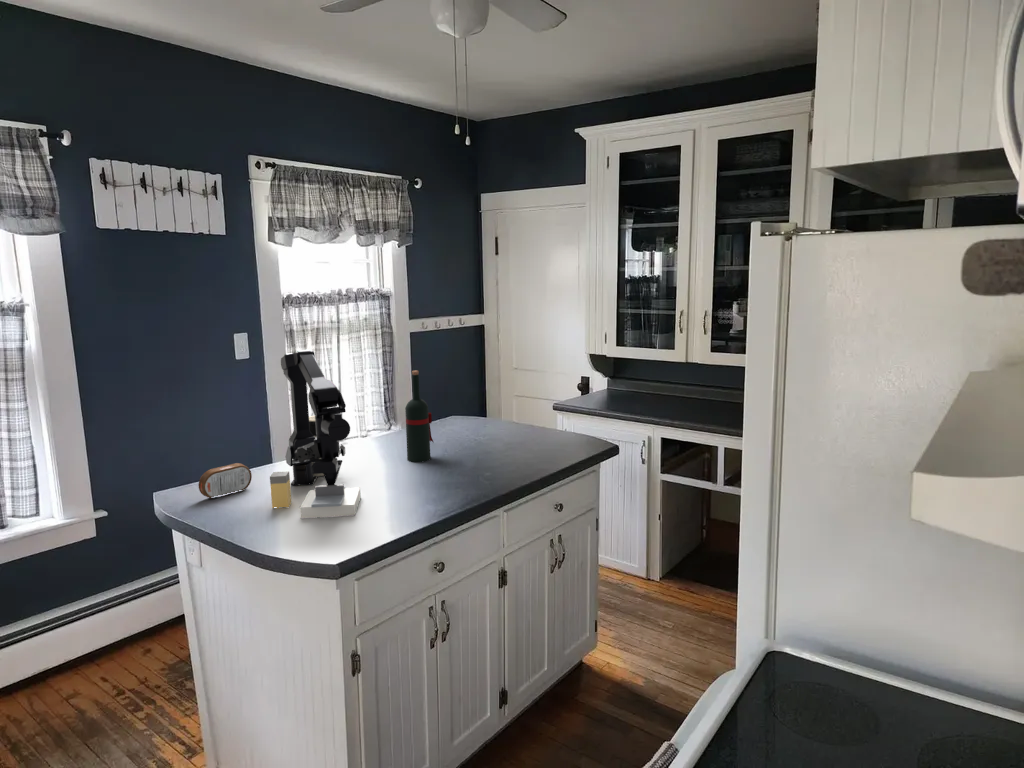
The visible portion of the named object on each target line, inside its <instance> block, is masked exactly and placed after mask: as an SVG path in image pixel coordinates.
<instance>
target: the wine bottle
mask: <svg viewBox="0 0 1024 768" xmlns="http://www.w3.org/2000/svg"><path fill="white" fill-rule="evenodd" d="M419 374H420V373H419V370H412V371H411V380H412V399H411V400H410V399H409V401H408V402H407V404H406V406H405V428H406V429H405V430H406V431H405V432H406V433H405V435H406V459H407V461H408V462H410V461H411V462H412V463H423V462H422V461H424V462H428V461H430V460H431V458H432V457H431V442H432V443H433V444H434V440H433V438H432V429H431V424H432V423H433V421H432V420H433V419H432V418H433V417H432V412H429V405H428V404H427V402H426V401H425V400H424V399H422V398H420V397H421V396H420V395H421V394H420V375H419ZM429 459H430V460H429ZM427 460H428V461H427Z"/></svg>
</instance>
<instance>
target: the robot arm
mask: <svg viewBox="0 0 1024 768" xmlns="http://www.w3.org/2000/svg"><path fill="white" fill-rule="evenodd" d="M315 355H316V354H315V352H314V350H311V349H303V350H302V349H301V350H296V351H294V352H290V353H285V354H284V355H283V356H282V357H281V358H280V365H281V366H280V367H281V369H282V371H283V375H284V376H285V378H286V379H287V380H288V382H289V384H290V396H291V399H290V400H291V408H292V409H291V410H292V422H293V423H292V425H293V431H292V433H291V435H290V437H289V439H288V446H287V449H286V452H285V462H286V464H287V466H289V467H292V473H293V480H292V481H291V482H290V486H305V485H306V486H307V485H314V484H315V482H316V480H317V477H316V476H313V474H321V473H323V474H324V476H323V477H324V479H325V482H326V485H336V483H337V478H338V476H339V473H340V470H341V466H342V463H343V460H341V459H338V458H339V457H340V455H341V456H342V457H344V456H345V455H346V446H345V445H343V444H342V443H340V442H341V441H343V440H346V438H347V437H348V436H349V435H350V432H351V426H350V424H349V422H348V421H347V420H346V419H345V418H343V414H342V413H347V412H346V402H345V400H344V397H343V395H342V392H341V391H340V389H338V387H337V386H336V383H334V382H333V381H332V380H330V379H327V378H326V377H325V375H324V373H323V371H322V369H321V367H320V365H319V363H318V361H317V360H316V356H315ZM308 387H309V393H308ZM309 405H310V408H311V410H312V412H313V416H315V424H316V438H315V437H314V435H313V434H312V433H311V432H310V425H309V417H310V414H309ZM319 458H321V459H319ZM312 462H314V463H313V464H312Z"/></svg>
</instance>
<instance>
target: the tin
mask: <svg viewBox="0 0 1024 768" xmlns="http://www.w3.org/2000/svg"><path fill="white" fill-rule="evenodd" d="M252 475H253V474H252V471H251V469H250V468H249V467H248V466H247V465H244V464H243V463H239V462H236V463H231V464H228V465H224V466H219V467H214V468H211V469H208V470H206V471H205V472H204V473H203V474H202V475H201V476H200V478H199V481H198V486H197V487H198V491H199V493H200V494H202V496H204V497H206V498H208V497H209V498H208V499H212V498H211V497H214V496H218V495H223V494H227V493H231V492H235V491H239V490H243V489H245V490H246V489H247V488H248V487H249V486H250V485H251V481H252ZM243 491H244V490H243Z"/></svg>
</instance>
